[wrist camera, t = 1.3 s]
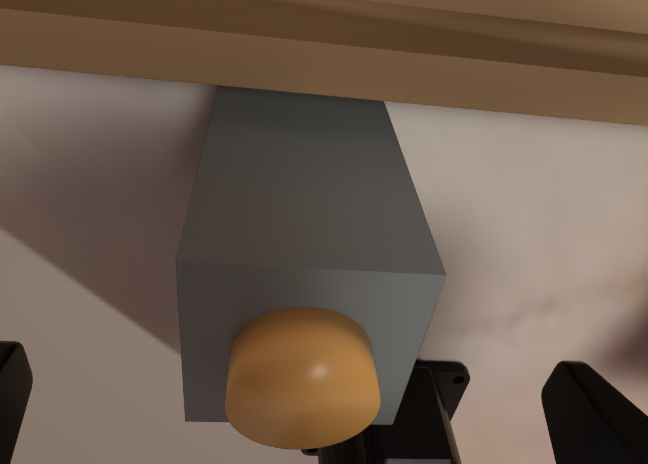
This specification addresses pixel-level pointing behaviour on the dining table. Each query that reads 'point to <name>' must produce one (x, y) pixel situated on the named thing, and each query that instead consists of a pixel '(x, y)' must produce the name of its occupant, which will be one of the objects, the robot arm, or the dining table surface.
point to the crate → (358, 49)
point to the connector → (302, 269)
